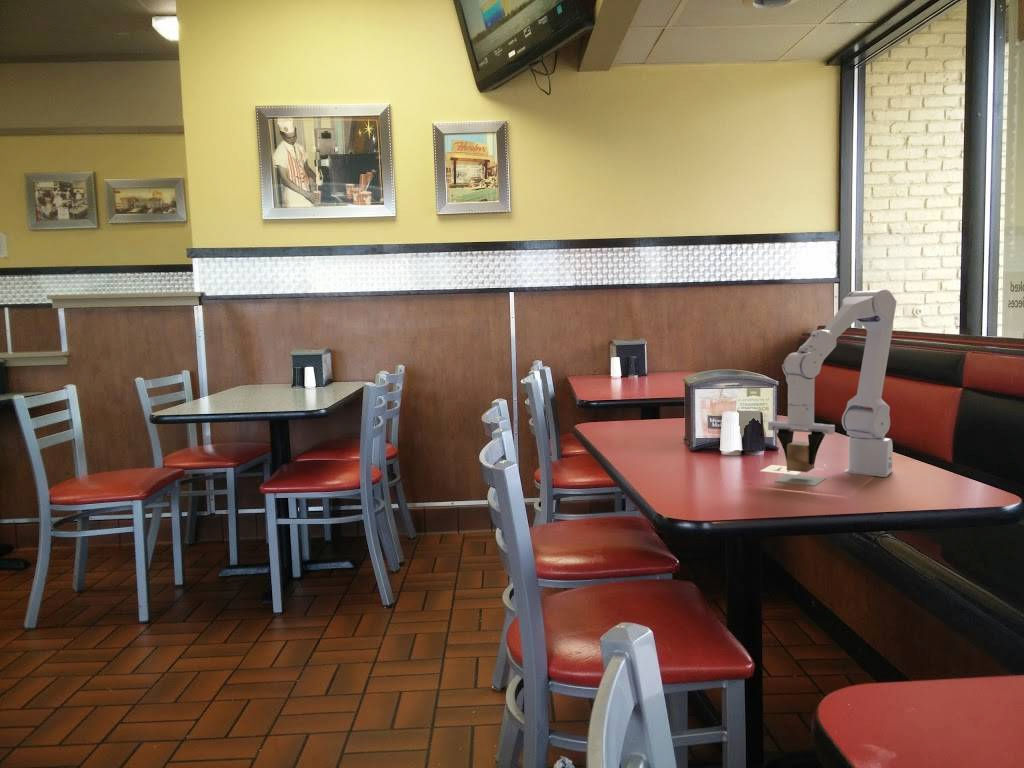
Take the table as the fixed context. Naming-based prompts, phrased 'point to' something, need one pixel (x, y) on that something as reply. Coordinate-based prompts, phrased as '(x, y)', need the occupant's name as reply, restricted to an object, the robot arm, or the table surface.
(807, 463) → the walnut block
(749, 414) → the grey upright block
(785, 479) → the grey mat
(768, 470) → the tile
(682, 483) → the table surface
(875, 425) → the robot arm
